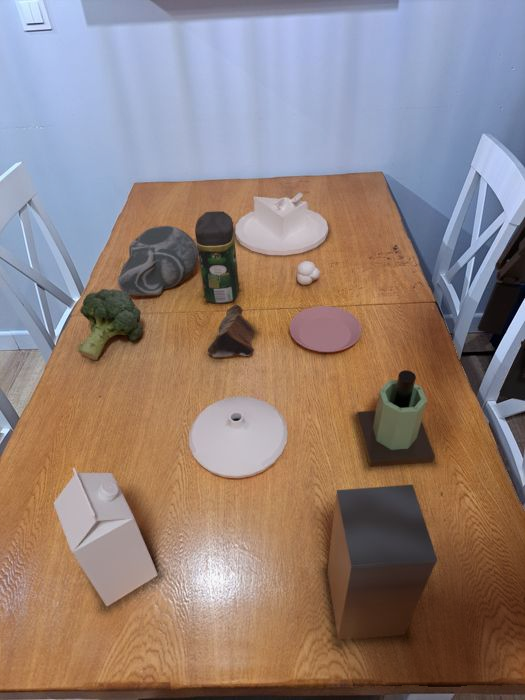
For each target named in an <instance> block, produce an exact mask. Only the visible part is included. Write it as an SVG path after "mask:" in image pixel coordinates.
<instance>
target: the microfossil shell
mask: <svg viewBox="0 0 525 700" xmlns="http://www.w3.org/2000/svg"><path fill="white" fill-rule="evenodd" d="M296 267H297V268H296V272H297V273H296V280H297V282H298V283H299V284H300V285H301V286H308V285H310V284H311V283H312V282H313V281H316V280H318V279H319V278H320V275H321V271H320V270H319V268H318V267H316V265H315V263H313V262H312V261H310V260H304V261H301V262H300V263H299V264H298V266H296Z"/></svg>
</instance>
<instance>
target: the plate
mask: <svg viewBox="0 0 525 700" xmlns="http://www.w3.org/2000/svg"><path fill="white" fill-rule="evenodd" d="M289 333H290V336H291V337H292V339H293V340H294V341H295V342H296V343H297V344H299V345H300V346H302V347H304V348H306V349H308V350H311V351H313V352H318V353H335V352H339V351H343V350H346V349H348V348H351V347H352V346H353V345H354V344H356V343H357V342H358V340H359V339H360V337H361V335H362V325H361V323H360V321H359V319H358V318H357V317H356V316H355V315H354V314H353V313H351V312H349V311H348V310H345V309H343V308H340V307H337V306H331V305H317V306H312V307H308V308H305V309H303V310H301V311H299V312H298V313H296V314H295V315H294V316H293V318H292V319H291V321H290V322H289Z"/></svg>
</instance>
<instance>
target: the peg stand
mask: <svg viewBox="0 0 525 700" xmlns="http://www.w3.org/2000/svg"><path fill="white" fill-rule="evenodd" d="M396 380H397V385H396V390H395V395H394V400H393V404H394V405H396V406H398V407H400V408H407V407H409V404H410V400H411V396H412V392H413V388H414V384H416V381H417V375H416V374H415V372H412V371H411V370H407V369H406V370H405V369H404V370H401V371H400V372H399V373H398V375H397V379H396ZM375 413H376V410H367V411H366V410H365V411H357V412H356V421H357V424H358V428H359V429H358V430H359V432H360V437H361V441H362V443H363V448H364V451H365V456H366V459H367V463H368V467H369V468H374V467H388V466H401V465H402V466H403V465H415V464H416V465H417V464H429V463H430V464H431V463H434V461H435V459H436V456H435V453H434V450H433V448H432V445H431V442H430V440H429V437H428V435H427V432H426V430H425V427H424V424H423V422H422V421H421V424H420V428H419V431H418V435H417V438H416V440H415V441H414V442H413V443H412V445H411V446H410V447H409V448H408V449H397V450H391V449H389V448H387V447H386V446H384V445H382V444H381V443H379V442H377V441H376V437H375V434H374V430H373V424H374V419H375Z"/></svg>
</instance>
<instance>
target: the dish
mask: <svg viewBox="0 0 525 700" xmlns="http://www.w3.org/2000/svg"><path fill="white" fill-rule="evenodd" d="M302 197H303V193H302V192H298V193H297V194H295V195H294V197H292V198H290V197H285V196H284V197H281V198H274V197H266V196H265V197H263V196H253V210H252V211H250V212H248V213H247V214H245V215H243V216H242V217H240V218H239V220H238V221H237V222H236V223H235V231H234V235H235V239H236V240H237V241H238V243H239V244H240V245H241V246H243V248H246V249H248V250H249V251H252V252H254V253H259V254H262V255H267V256H290V255H298V254H302V253H303V254H304V253H305V252H308V251H310V250H314V249H316V248H317V247H318V246H319V245H321V244H322V243H323V242H325V240H326V238H327V236H328V234H329V226H328V222H327V220H326V219H325V218H324V217H323V216H322V215H321V214H320V213H318V212H316V211H313V210H311V209H309V208H308V204H309V203H308V201H305V200H300V199H301V198H302Z"/></svg>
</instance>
